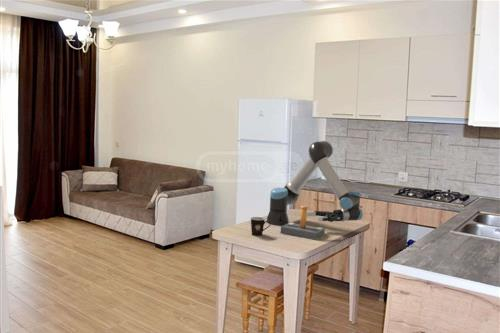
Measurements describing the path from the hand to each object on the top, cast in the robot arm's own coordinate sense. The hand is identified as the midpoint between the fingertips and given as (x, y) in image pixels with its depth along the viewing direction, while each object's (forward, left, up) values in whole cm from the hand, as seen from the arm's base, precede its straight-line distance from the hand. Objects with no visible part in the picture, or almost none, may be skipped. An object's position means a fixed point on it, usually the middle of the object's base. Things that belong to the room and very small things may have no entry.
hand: (312, 216), depth 278 cm
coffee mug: (-25, -23, -11) cm, 36 cm away
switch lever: (-4, -4, -11) cm, 12 cm away
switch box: (-4, -4, -11) cm, 12 cm away
